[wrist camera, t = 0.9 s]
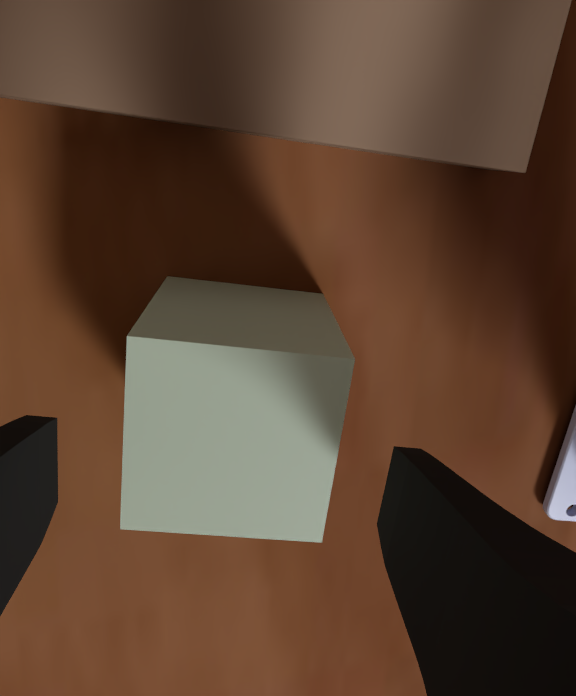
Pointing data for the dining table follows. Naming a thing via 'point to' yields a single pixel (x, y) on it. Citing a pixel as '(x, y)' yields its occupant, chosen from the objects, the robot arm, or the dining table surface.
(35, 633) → the dining table surface
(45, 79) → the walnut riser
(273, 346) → the sage block
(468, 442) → the dining table surface
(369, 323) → the dining table surface
